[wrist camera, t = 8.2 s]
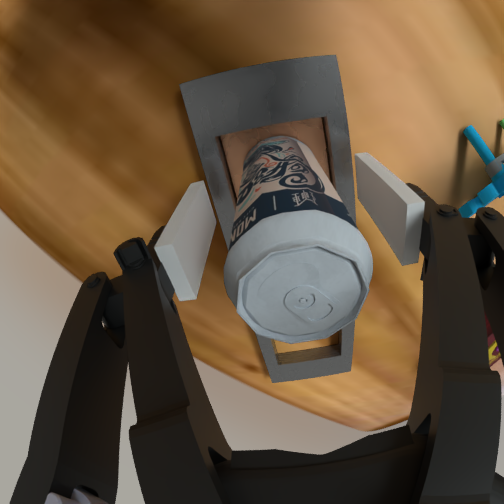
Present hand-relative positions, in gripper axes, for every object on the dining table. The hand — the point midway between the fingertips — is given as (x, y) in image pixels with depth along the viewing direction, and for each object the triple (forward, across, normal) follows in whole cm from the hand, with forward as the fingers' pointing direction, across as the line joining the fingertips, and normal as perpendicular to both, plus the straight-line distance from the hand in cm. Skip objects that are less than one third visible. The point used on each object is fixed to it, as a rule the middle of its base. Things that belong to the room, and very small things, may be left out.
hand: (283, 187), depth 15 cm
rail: (+3, 0, -8) cm, 9 cm away
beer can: (+3, 0, 0) cm, 3 cm away
